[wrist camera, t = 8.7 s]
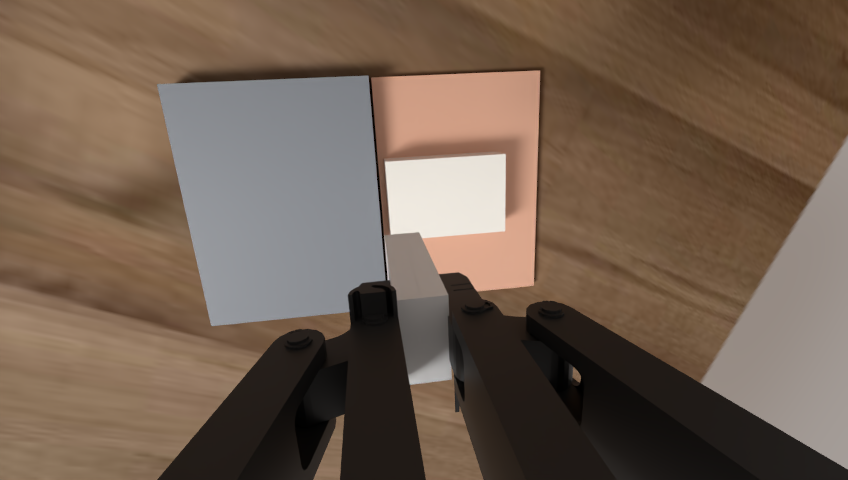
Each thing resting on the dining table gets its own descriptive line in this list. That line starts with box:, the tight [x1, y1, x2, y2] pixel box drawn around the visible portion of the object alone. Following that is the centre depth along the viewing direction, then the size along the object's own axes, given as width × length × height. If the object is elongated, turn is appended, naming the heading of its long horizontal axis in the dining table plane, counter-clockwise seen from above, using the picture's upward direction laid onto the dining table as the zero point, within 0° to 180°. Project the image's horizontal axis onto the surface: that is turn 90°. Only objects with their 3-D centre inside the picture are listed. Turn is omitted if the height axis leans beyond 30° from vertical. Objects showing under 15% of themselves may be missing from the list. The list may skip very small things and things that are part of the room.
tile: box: [384, 151, 506, 238], centre depth 32 cm, size 9×6×2 cm, turn 93°
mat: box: [371, 71, 540, 291], centre depth 34 cm, size 13×18×1 cm
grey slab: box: [157, 76, 386, 326], centre depth 32 cm, size 14×18×2 cm
